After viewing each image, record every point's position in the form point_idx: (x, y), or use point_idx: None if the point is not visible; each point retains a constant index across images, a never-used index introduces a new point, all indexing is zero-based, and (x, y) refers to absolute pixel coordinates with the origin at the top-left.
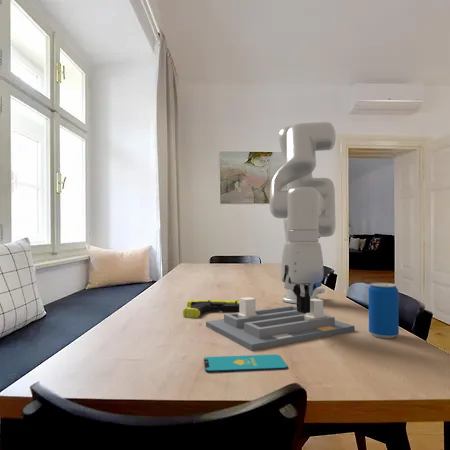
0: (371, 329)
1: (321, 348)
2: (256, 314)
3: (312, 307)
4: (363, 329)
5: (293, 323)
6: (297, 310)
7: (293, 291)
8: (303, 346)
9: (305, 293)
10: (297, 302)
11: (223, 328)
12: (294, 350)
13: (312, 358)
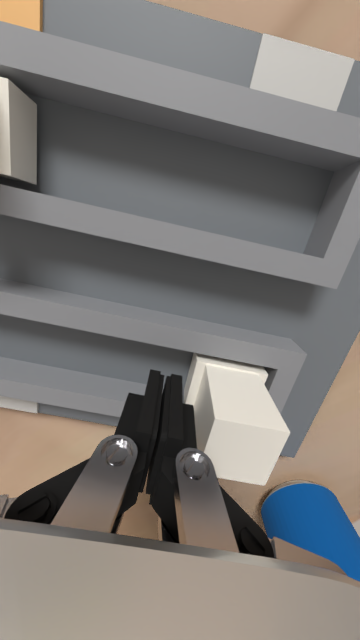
0: (270, 507)
1: (78, 463)
2: (6, 171)
3: (197, 434)
4: (320, 451)
5: (62, 403)
6: (150, 371)
7: (56, 481)
8: (50, 432)
9: (156, 499)
10: (121, 418)
11: None
12: (8, 435)
13: (10, 482)
